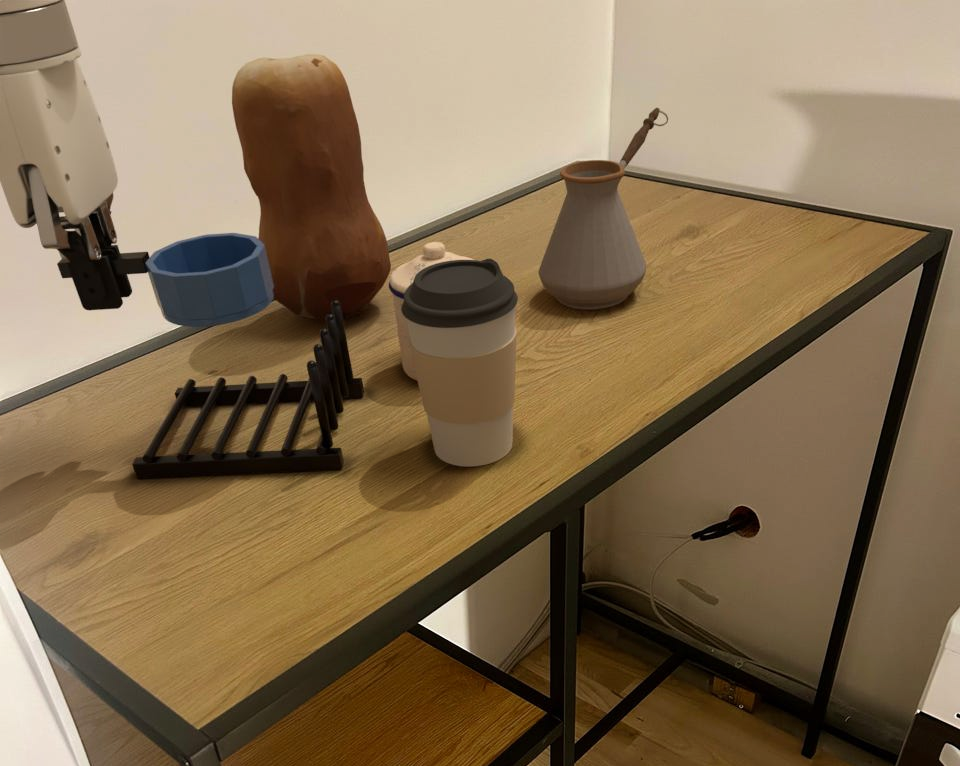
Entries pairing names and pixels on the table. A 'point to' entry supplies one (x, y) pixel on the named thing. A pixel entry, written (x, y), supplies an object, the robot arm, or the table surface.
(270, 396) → the dish rack
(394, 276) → the teacup with lid
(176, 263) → the saucepan
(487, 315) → the coffee cup
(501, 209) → the table surface
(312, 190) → the butternut squash
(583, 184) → the coffee pot
